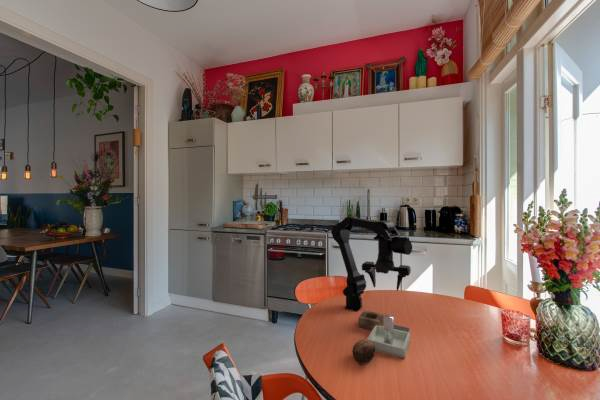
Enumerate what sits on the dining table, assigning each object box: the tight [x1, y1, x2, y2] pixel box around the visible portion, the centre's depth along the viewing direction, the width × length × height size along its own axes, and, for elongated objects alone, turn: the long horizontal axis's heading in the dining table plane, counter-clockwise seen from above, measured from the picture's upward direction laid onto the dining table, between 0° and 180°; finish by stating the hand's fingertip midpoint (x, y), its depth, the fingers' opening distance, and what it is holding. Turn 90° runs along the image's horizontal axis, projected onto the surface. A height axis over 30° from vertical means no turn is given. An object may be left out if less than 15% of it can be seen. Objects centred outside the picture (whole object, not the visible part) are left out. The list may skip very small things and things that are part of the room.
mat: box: [393, 324, 410, 333], centre depth 103 cm, size 7×7×1 cm
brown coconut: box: [351, 339, 376, 365], centre depth 84 cm, size 8×8×6 cm
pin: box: [383, 314, 395, 345], centre depth 93 cm, size 3×3×9 cm
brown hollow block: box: [357, 310, 385, 332], centre depth 107 cm, size 8×8×4 cm
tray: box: [366, 325, 411, 359], centre depth 93 cm, size 12×12×3 cm
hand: (385, 288), depth 112 cm, fingers open, 9 cm apart
